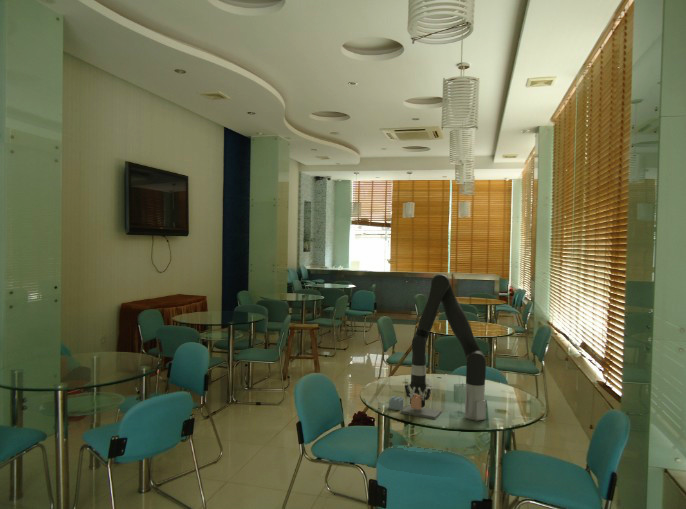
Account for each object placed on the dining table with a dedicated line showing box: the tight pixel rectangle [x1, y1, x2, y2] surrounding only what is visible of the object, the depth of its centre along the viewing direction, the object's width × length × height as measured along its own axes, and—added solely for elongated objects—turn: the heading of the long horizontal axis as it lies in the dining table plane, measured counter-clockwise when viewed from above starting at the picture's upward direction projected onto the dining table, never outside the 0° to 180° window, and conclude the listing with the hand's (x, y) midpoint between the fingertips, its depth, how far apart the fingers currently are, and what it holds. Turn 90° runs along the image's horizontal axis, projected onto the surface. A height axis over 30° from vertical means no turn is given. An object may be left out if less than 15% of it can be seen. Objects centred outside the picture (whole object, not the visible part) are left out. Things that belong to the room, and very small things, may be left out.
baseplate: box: [400, 404, 443, 420], centre depth 264 cm, size 18×11×1 cm, turn 63°
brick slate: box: [388, 395, 404, 411], centre depth 271 cm, size 6×5×6 cm
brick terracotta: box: [410, 393, 422, 409], centre depth 265 cm, size 6×5×6 cm
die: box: [424, 377, 433, 393], centre depth 303 cm, size 8×9×10 cm
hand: (417, 406), depth 265 cm, fingers closed on brick terracotta, 5 cm apart
